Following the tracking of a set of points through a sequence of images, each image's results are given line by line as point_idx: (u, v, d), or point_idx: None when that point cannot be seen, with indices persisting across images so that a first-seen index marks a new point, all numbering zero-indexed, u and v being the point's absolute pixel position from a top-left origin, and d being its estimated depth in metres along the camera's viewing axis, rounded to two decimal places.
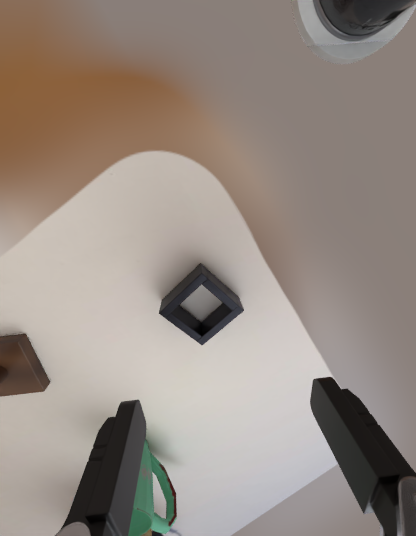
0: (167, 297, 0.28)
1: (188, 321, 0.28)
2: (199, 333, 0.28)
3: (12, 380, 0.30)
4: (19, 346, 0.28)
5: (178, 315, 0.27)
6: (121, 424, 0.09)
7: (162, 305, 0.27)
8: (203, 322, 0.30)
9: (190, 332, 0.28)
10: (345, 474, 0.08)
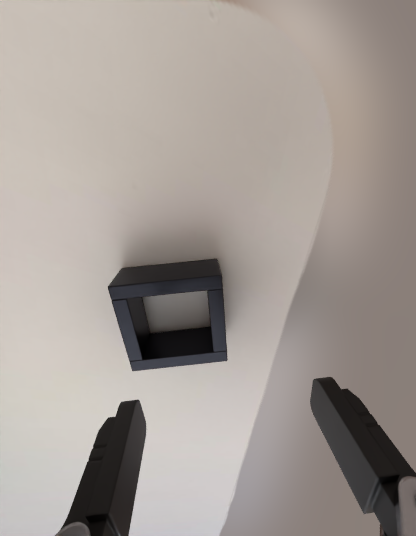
0: (135, 271, 0.16)
1: (139, 325, 0.16)
2: (142, 352, 0.16)
3: None
4: None
5: (133, 308, 0.15)
6: (121, 424, 0.09)
7: (120, 278, 0.15)
8: (155, 336, 0.19)
9: (131, 344, 0.16)
10: (345, 474, 0.08)
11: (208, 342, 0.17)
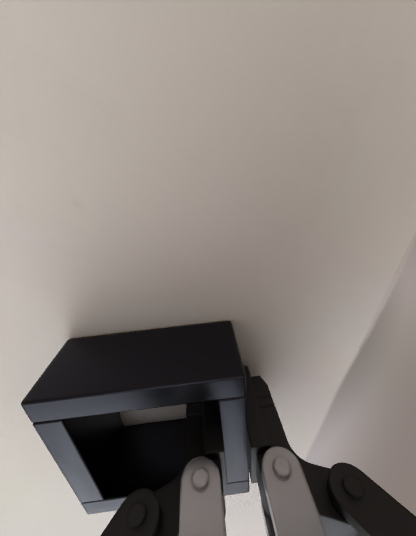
0: (87, 350, 0.09)
1: (97, 440, 0.09)
2: (103, 486, 0.10)
3: None
4: None
5: (83, 420, 0.09)
6: None
7: (55, 372, 0.08)
8: (130, 435, 0.12)
9: (81, 482, 0.09)
10: None
11: None
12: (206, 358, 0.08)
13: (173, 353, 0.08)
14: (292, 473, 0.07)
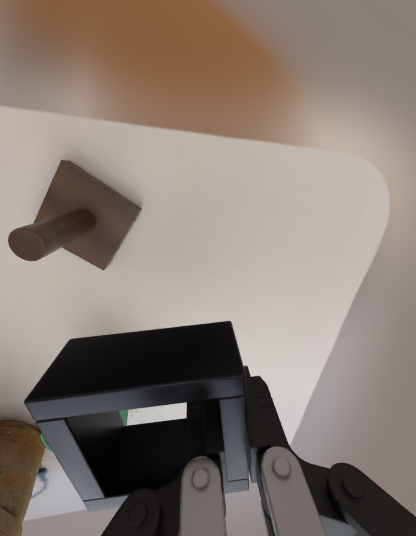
0: (89, 349, 0.09)
1: (99, 439, 0.10)
2: (105, 484, 0.10)
3: (88, 238, 0.26)
4: (134, 215, 0.26)
5: (85, 418, 0.09)
6: None
7: (57, 370, 0.08)
8: (131, 433, 0.12)
9: (83, 480, 0.09)
10: None
11: None
12: (206, 357, 0.08)
13: (174, 352, 0.08)
14: (292, 473, 0.07)
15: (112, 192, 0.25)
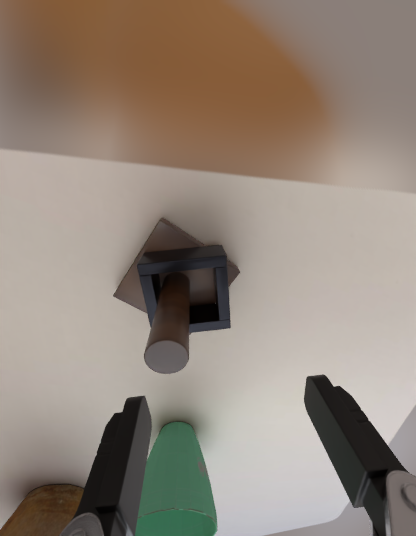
0: (155, 254, 0.20)
1: (158, 298, 0.20)
2: None
3: None
4: (234, 277, 0.22)
5: (155, 283, 0.19)
6: (128, 419, 0.09)
7: (145, 258, 0.19)
8: None
9: (153, 313, 0.19)
10: (337, 469, 0.08)
11: (214, 314, 0.21)
12: (210, 252, 0.19)
13: (195, 252, 0.19)
14: None
15: None
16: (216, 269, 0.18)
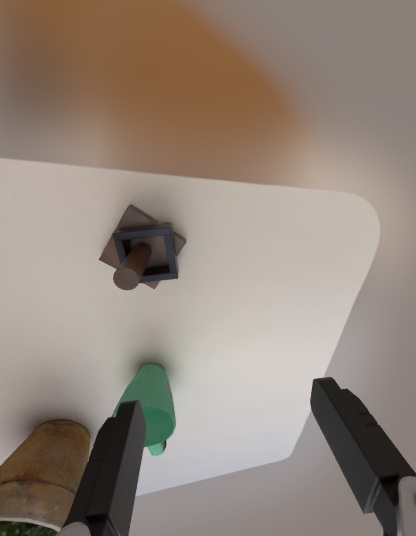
0: (126, 228, 0.30)
1: None
2: None
3: None
4: (182, 245, 0.32)
5: (125, 247, 0.29)
6: (121, 424, 0.09)
7: (118, 230, 0.29)
8: None
9: None
10: (345, 474, 0.08)
11: (168, 269, 0.31)
12: (160, 226, 0.29)
13: (151, 226, 0.29)
14: None
15: None
16: (164, 236, 0.28)
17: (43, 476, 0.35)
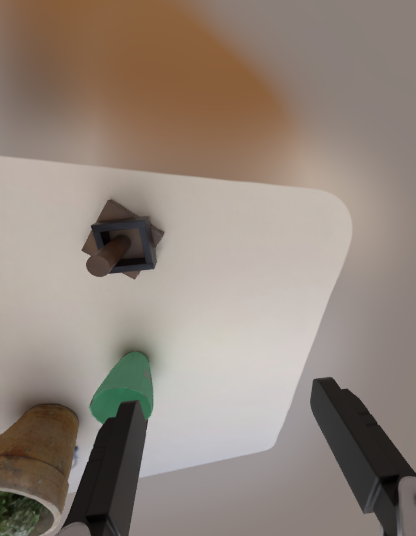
0: (105, 221, 0.32)
1: None
2: None
3: (124, 256, 0.35)
4: (159, 238, 0.34)
5: (104, 239, 0.31)
6: (121, 424, 0.09)
7: (97, 223, 0.31)
8: None
9: None
10: (345, 474, 0.08)
11: (145, 261, 0.33)
12: (136, 219, 0.31)
13: (128, 220, 0.31)
14: None
15: None
16: (139, 229, 0.30)
17: (30, 453, 0.38)
